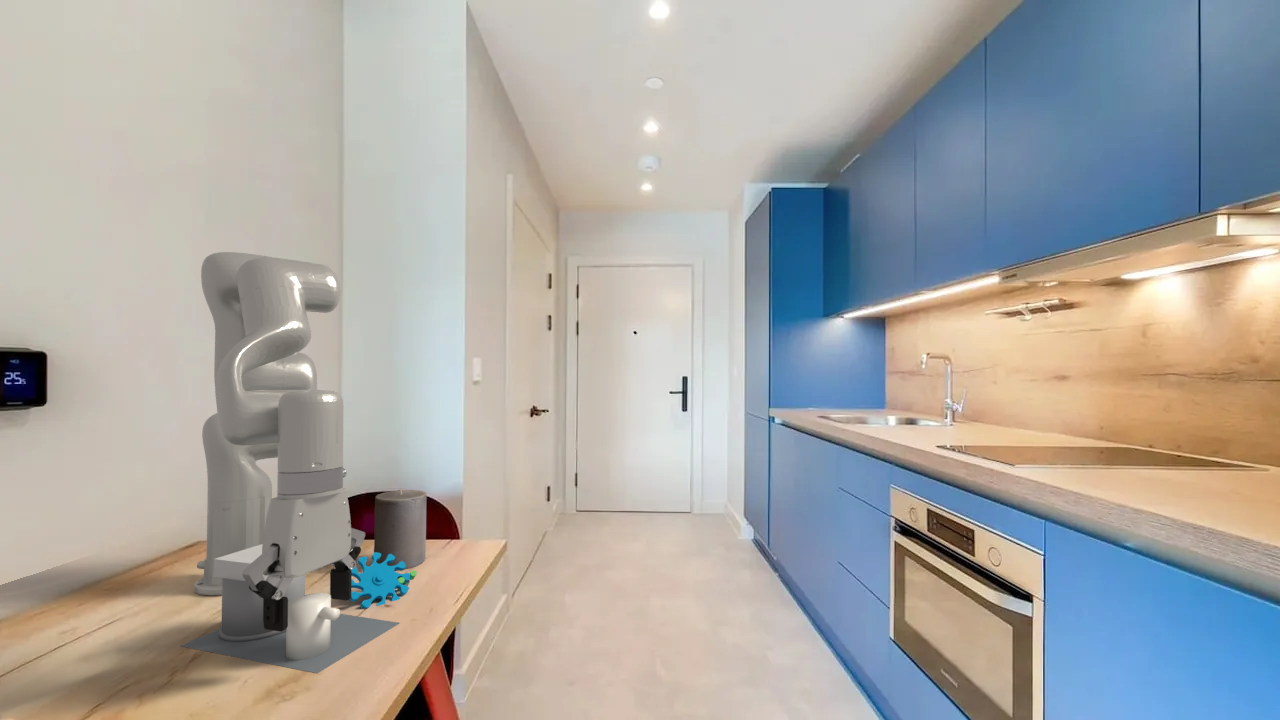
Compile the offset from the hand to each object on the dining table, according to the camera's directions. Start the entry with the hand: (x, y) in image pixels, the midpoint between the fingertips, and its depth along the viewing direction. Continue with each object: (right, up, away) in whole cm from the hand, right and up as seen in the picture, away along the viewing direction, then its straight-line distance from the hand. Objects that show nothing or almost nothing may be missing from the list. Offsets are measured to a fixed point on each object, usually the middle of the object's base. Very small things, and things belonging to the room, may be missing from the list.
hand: (310, 613), depth 71 cm
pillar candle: (-5, -8, +37) cm, 38 cm away
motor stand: (-5, -6, +5) cm, 9 cm away
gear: (+1, -7, +18) cm, 19 cm away
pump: (0, -5, 0) cm, 5 cm away
